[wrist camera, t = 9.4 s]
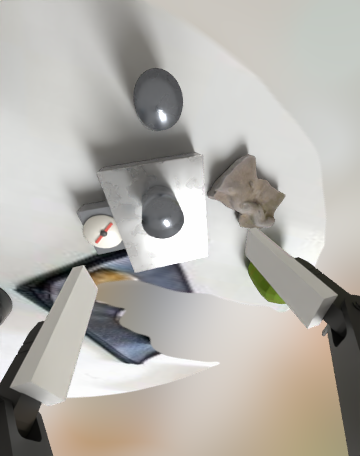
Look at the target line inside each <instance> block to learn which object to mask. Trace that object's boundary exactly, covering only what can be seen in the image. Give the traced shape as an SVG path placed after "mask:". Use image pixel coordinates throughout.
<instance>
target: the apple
mask: <svg viewBox="0 0 360 456" xmlns="http://www.w3.org/2000/svg"><path fill="white" fill-rule="evenodd" d="M248 274H249V276H250V278H251V280H252V281H253V283H254V285H255V286H256V288H257V289H258V291H259V292H260V294H261V295H262V296H263V297H264V298H265V299H266V300H267V301H268V302H273V303H278V304H286V303H285V302H284V300H283V299H282V298H281V297H280V296H279V295H278V293H277V292H276V291H275V290H274V289H273V287H272V286H271V285H270V284H269V283H268V281H267V280H266V279H265V278H264V277H263V275H262V274H261V273H260V272H259V271H258V270H257V268H256V267H255V266H254V265H253V264H252V262H250V264H249V267H248Z"/></svg>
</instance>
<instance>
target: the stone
mask: <svg viewBox="0 0 360 456" xmlns="http://www.w3.org/2000/svg"><path fill="white" fill-rule="evenodd" d="M208 197H209V198H211V199H215V200H218V201H221V202H222V203H223V204H224V205H225V206H227V207H228V208H231V209H234V210H236V211H237V212H239V217H238V222H239V225H240V227H245V228H255V227H257V228H263V227H264V228H268V227H271V226H272V225H273V224H274V222H275V219H274V217H273V216H274V212H275V210H276V209H277V207H278V206H279V205H280V204H281V202H282V201H283V199H284V198H285V194H283V193H281V192H280V191H278V190H277V189H276V188H274V187H272V186H271V185H270V184H269V182H268V181H267V180H265V179H260V178H258V177H257V173H256V158H255V157H254V156H252V155H249V154H247V155H245V156H243V157H241V158H239V159H237V160H236V161H235V162H234V163H233V164H232V165H231V166H230V167H229V168H228V169H227V171H225V172H224V173H223V174H222V175H221V176H220V177H219V178H218V179H217V180H216V181H215V183H214V184H213V186H212V187H211V189H210V191H209V192H208Z"/></svg>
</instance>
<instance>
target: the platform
mask: <svg viewBox="0 0 360 456" xmlns="http://www.w3.org/2000/svg"><path fill="white" fill-rule="evenodd" d="M97 176H98V178H99V181H100V183H101V186H102V189H103V191H104V194H105V196H106V199H107V202H108V204H109V207H110V209H111V212H112V215H113V217H114V220H115V222H116V225H117V227H118V230H119V233H120V235H121V238H122V240H123V243H124V246H125V248H126V251H127V253H128V256H129V259H130V261H131V264H132V266H133V269H134V271H135V273H136V272H141V271H145V270H149V269H154V268H158V267H162V266H166V265H171V264H175V263H179V262H184V261H188V260H192V259H197V258H201V257H205V256H208V253H207V231H206V209H205V187H204V165H203V155H196V156H190V157H184V158H178V159H172V160H166V161H160V162H154V163H148V164H142V165H136V166H129V167H123V168H117V169H111V170H105V171H99V172H97ZM158 185H160V186H165V187H168V188H169V189H171V190H172V191H173V193H174V194H175V196H176V198H177V200H178V202H179V205H180V207H181V209H182V211H183V213H184V217H185V222H184V225H183V228H182V229H181V231H180V232H179V233H178V234H176V235H175V236H173V237H171V238H168V239H157V238H154V237H151V236H150V235H148V234H147V233H146V232H145V230H144V229H143V226H142V199H143V196H144V194H145V192H146V191H147V190H148V189H149V188H151V187H153V186H158Z"/></svg>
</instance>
